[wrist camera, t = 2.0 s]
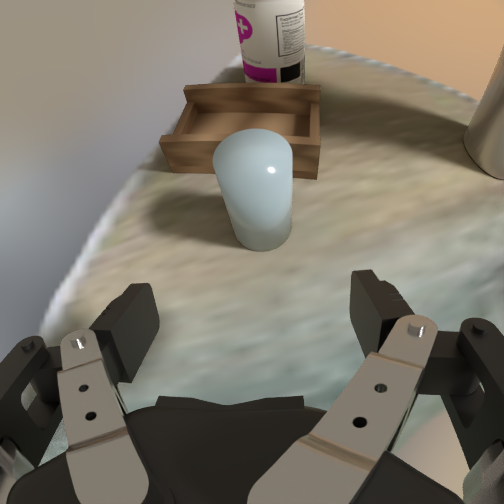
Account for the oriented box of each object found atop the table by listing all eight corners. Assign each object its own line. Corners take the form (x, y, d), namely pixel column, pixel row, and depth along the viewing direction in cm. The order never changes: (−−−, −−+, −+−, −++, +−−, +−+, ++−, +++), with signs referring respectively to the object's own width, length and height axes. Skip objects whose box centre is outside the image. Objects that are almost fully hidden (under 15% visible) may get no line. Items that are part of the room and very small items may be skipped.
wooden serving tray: (318, 117, 36) (320, 85, 31) (316, 179, 32) (320, 145, 27) (195, 115, 38) (185, 85, 33) (173, 172, 34) (158, 142, 29)
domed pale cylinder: (293, 203, 31) (294, 130, 22) (289, 254, 29) (289, 190, 20) (238, 199, 32) (221, 128, 23) (229, 248, 29) (204, 185, 20)
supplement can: (249, 105, 38) (233, 4, 24) (244, 73, 41) (230, -13, 28) (309, 99, 37) (310, -1, 24) (297, 68, 41) (295, -18, 27)
